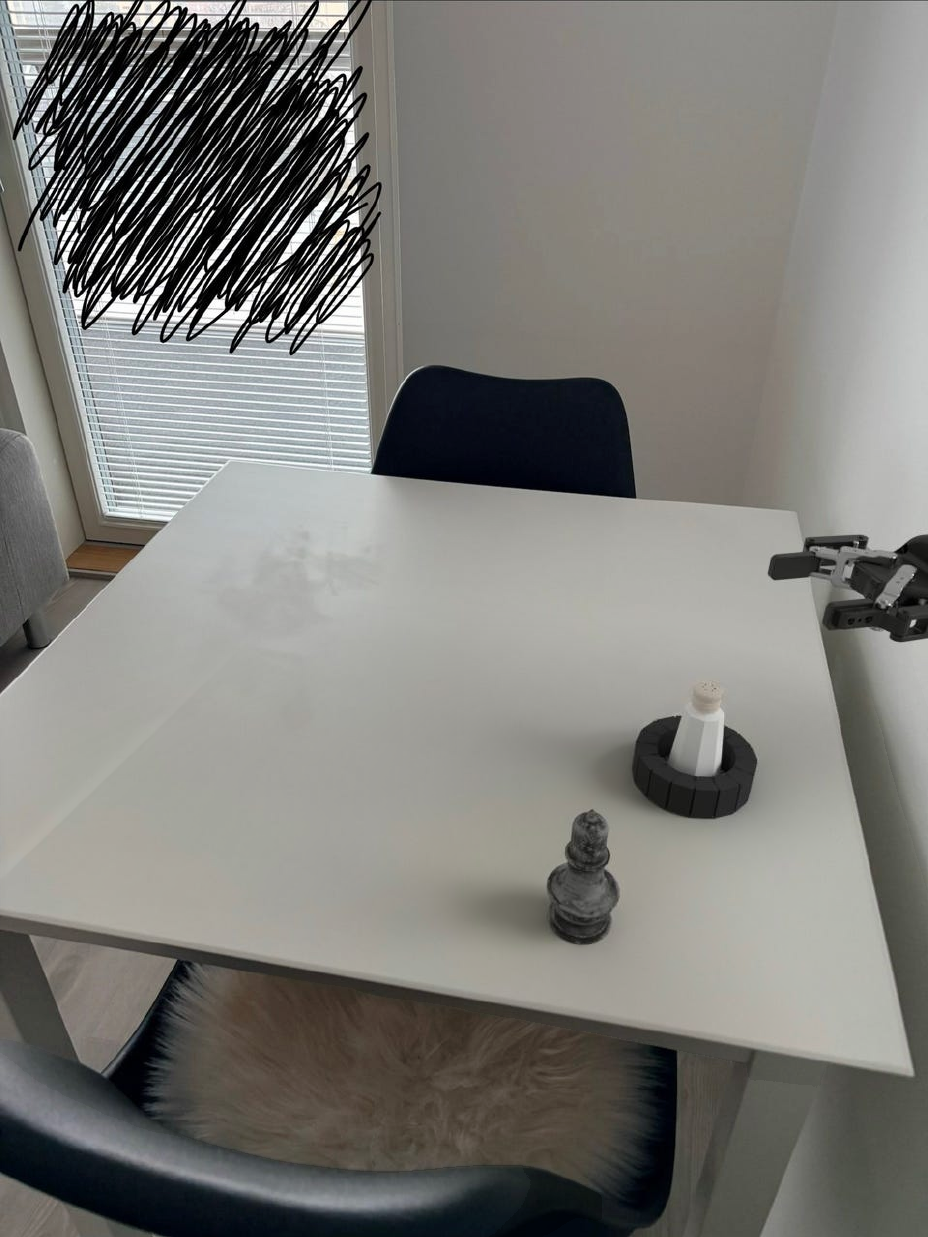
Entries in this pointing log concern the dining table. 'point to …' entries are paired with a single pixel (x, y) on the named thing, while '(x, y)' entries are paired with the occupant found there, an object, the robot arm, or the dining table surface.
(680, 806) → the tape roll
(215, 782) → the dining table surface
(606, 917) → the grey chess piece
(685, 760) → the pepper shaker
